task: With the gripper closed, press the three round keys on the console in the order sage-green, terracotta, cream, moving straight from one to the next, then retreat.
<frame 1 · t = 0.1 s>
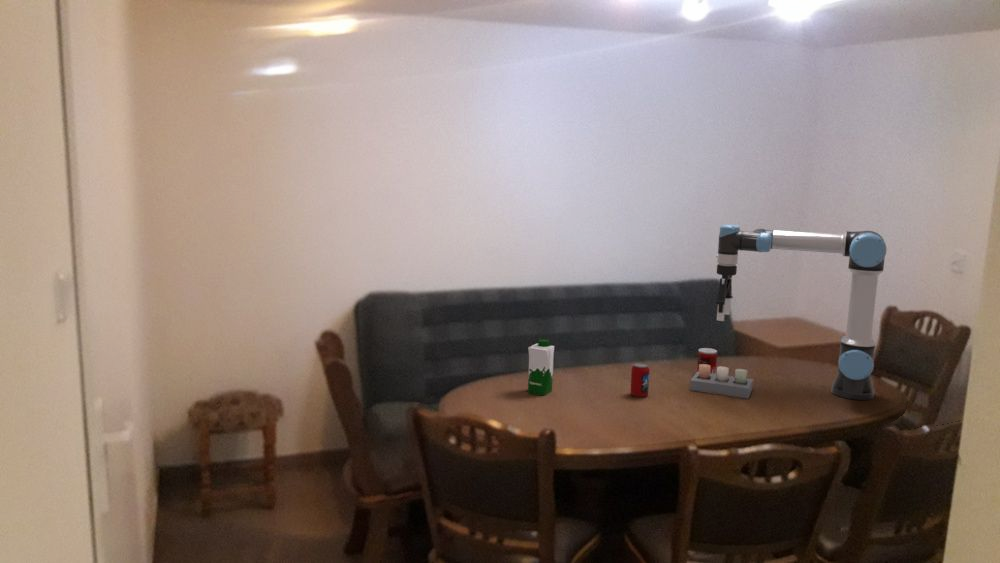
hand: (723, 317, 307), 28 cm above the table, fingers open, 13 cm apart
milk carton: (539, 392, 298), on the table
button terracotta: (704, 371, 308), point 6 cm above the table, slide at 0.0 cm
button sage: (740, 376, 302), point 6 cm above the table, slide at 0.0 cm
button cream: (722, 374, 305), point 6 cm above the table, slide at 0.0 cm
console: (721, 389, 306), on the table
beverage can: (639, 395, 297), on the table
canned food: (706, 376, 325), on the table
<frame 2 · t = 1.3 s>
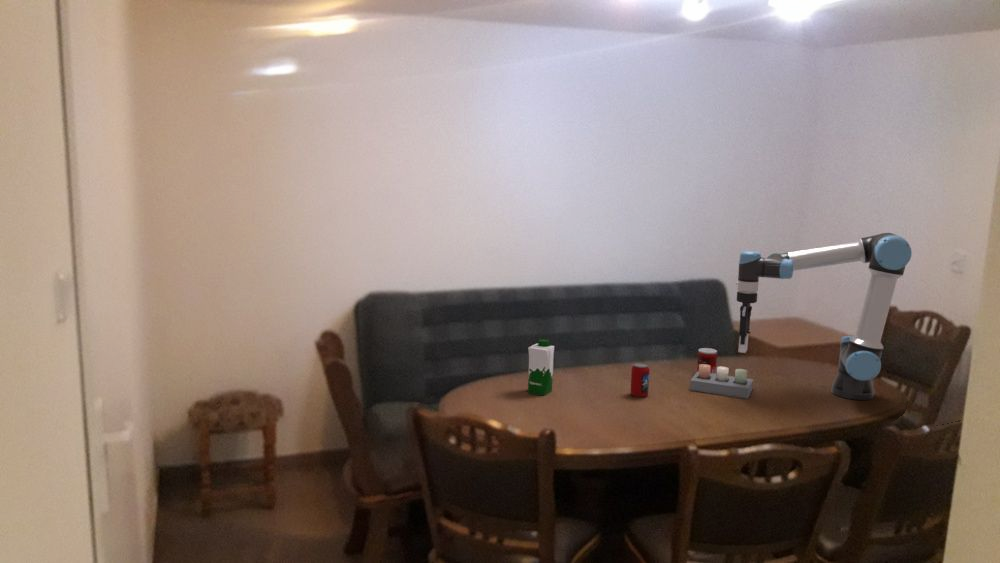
hand: (742, 351, 300), 17 cm above the table, fingers open, 3 cm apart
nothing on the table moved.
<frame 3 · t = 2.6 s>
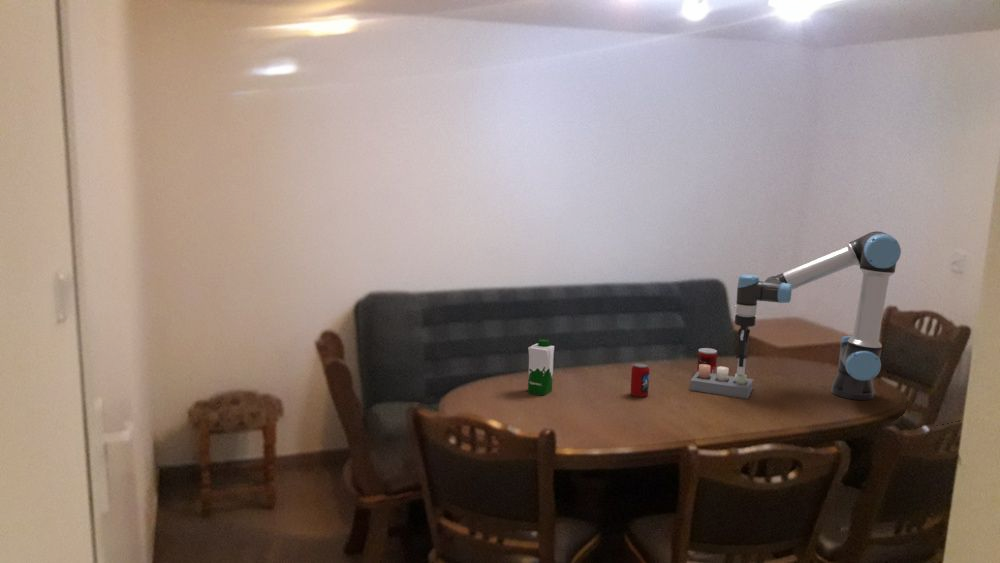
hand: (740, 374, 302), 7 cm above the table, fingers closed
button sage: (740, 380, 302), point 5 cm above the table, slide at 1.8 cm, touching gripper
everything else where it was.
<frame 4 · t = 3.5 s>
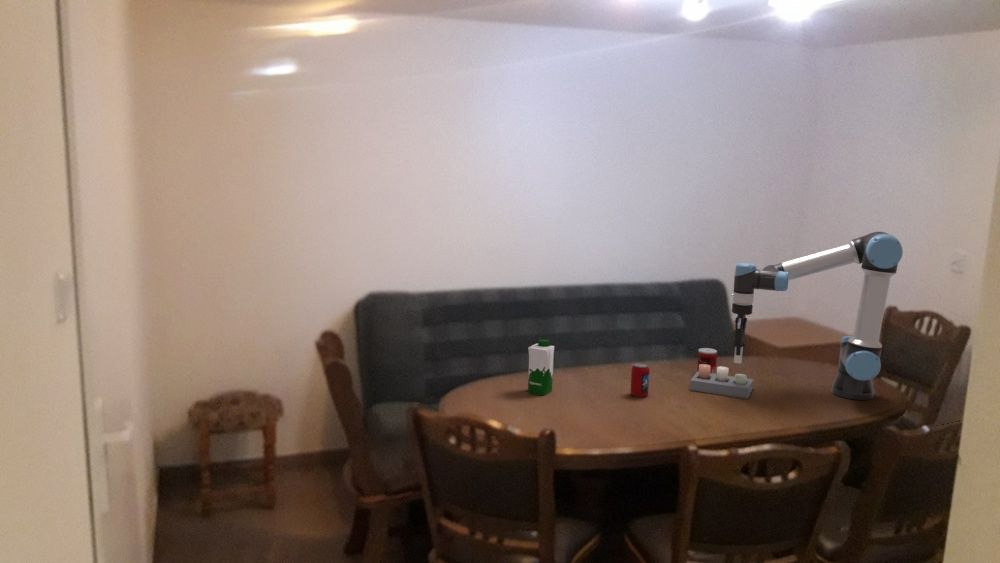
hand: (737, 362, 302), 12 cm above the table, fingers closed
button sage: (740, 381, 303), point 4 cm above the table, slide at 2.0 cm
everything else where it was.
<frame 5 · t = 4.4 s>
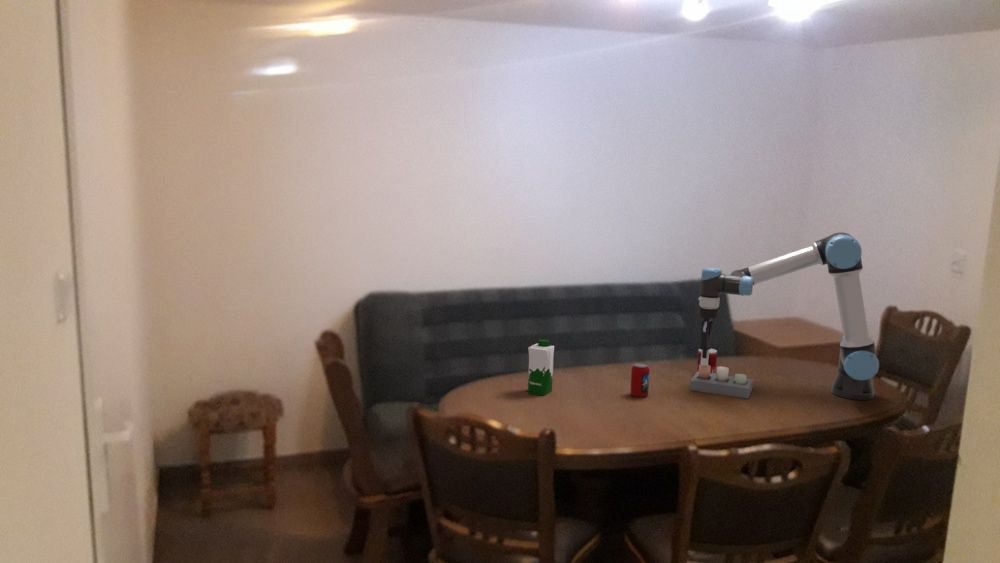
hand: (704, 365, 308), 9 cm above the table, fingers closed
button terracotta: (704, 372, 308), point 6 cm above the table, slide at 0.2 cm, touching gripper
everything else where it was.
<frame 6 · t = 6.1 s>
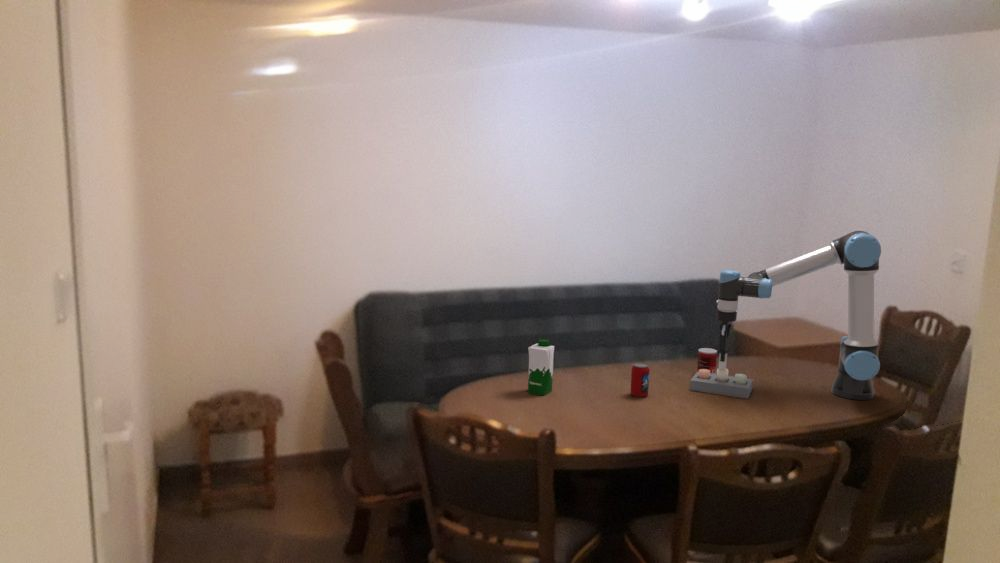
hand: (722, 368, 305), 8 cm above the table, fingers closed
button terracotta: (704, 376, 308), point 4 cm above the table, slide at 2.0 cm
button cream: (722, 375, 305), point 6 cm above the table, slide at 0.6 cm, touching gripper
everything else where it was.
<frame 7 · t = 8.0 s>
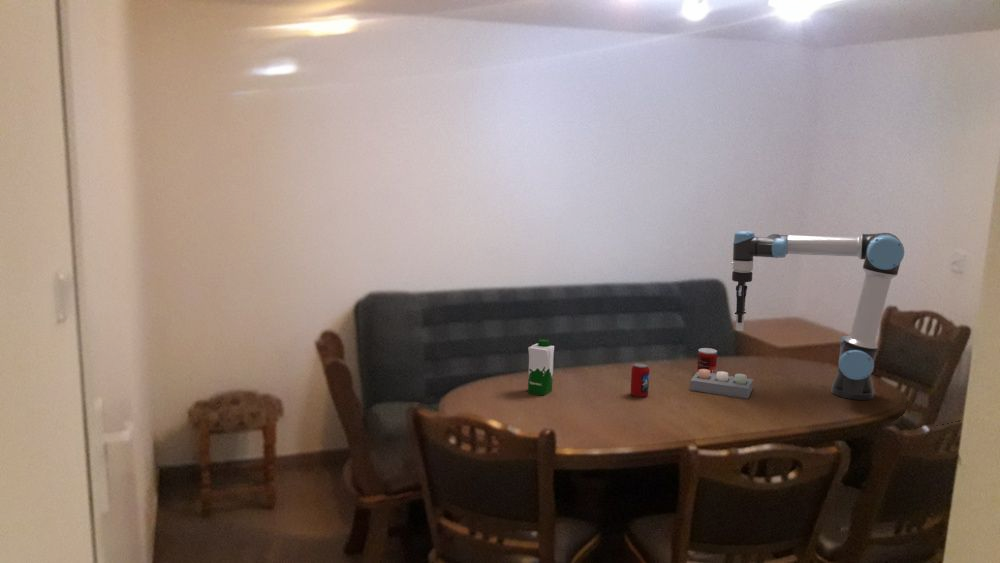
hand: (739, 330, 305), 23 cm above the table, fingers closed
button cream: (722, 379, 305), point 4 cm above the table, slide at 2.0 cm
everything else where it was.
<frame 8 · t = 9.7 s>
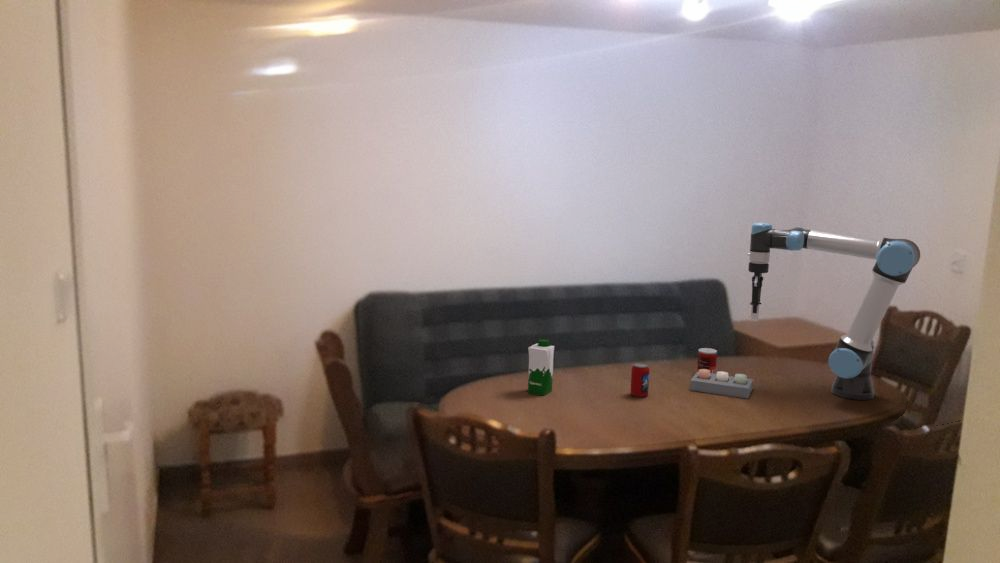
hand: (754, 320, 310), 26 cm above the table, fingers closed
nothing on the table moved.
at the end: button sage slide at 2.0 cm; button terracotta slide at 2.0 cm; button cream slide at 2.0 cm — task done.
